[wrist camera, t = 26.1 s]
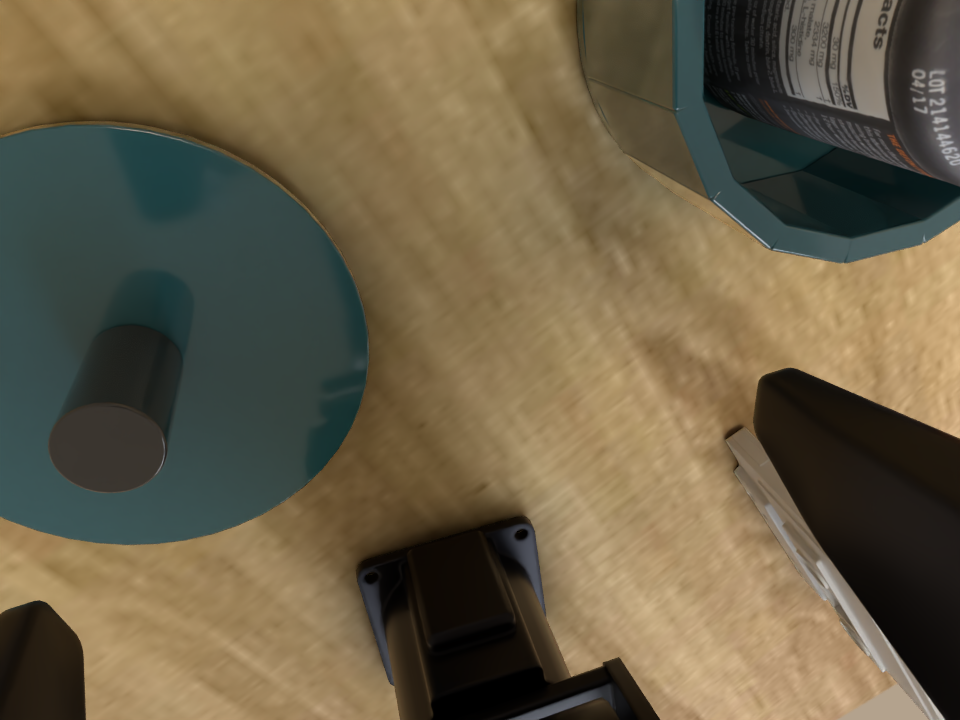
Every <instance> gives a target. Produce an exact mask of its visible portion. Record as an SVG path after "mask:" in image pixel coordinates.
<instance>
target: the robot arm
mask: <svg viewBox="0 0 960 720" xmlns="http://www.w3.org/2000/svg"><path fill="white" fill-rule="evenodd" d="M753 425H754V430H755V433H756V436H757V438H758V440H759V441H760V443H761V445H762V447H763V449H764V450H765V452H766V454H767V456H768V457H769V459H770V461H771V463H772V465H773V466H774V468H775V470H776V472H777V473H778V475H779V477H780V479H781V481H782V482H783V484H784V486H785V488H786V489H787V491H788V493H789V495H790V497H791V498H792V500H793V502H794V504H795V505H796V507H797V509H798V511H799V513H800V514H801V516H802V518H803V520H804V521H805V523H806V525H807V526H808V528H809V530H810V531H811V533H812V534H813V536H814V537H815V539H816V540H817V542H818V543H819V545H820V546H821V548H822V549H823V551H824V552H825V553H826V555H827V556H828V558H829V559H830V560H831V562H832V563H833V565H834V566H835V567H836V569H837V570H838V571H839V573H840V574H841V576H842V577H843V578H844V580H845V581H846V583H847V584H848V585H849V587H850V588H851V590H852V591H853V592H854V594H855V595H856V597H857V598H858V599H859V601H860V602H861V604H862V605H863V606H864V608H865V609H866V611H867V612H868V613H869V615H870V616H871V617H872V619H873V620H874V622H875V623H876V624H877V626H878V627H879V629H880V630H881V631H882V633H883V634H884V636H885V637H886V638H887V640H888V641H889V643H890V644H891V645H892V647H893V648H894V650H895V651H896V652H897V654H898V655H899V657H900V658H901V659H902V661H903V662H904V663H905V665H906V666H907V668H908V669H909V670H910V672H911V673H912V675H913V676H914V677H915V679H916V680H917V682H918V683H919V684H920V686H921V687H922V689H923V690H924V691H925V693H926V694H927V696H928V697H929V698H930V700H931V701H932V703H933V704H934V705H935V707H936V708H937V709H938V711H939V712H940V714H941V715H942V716H943V718H944V719H945V720H960V439H959V438H957V437H955V436H952V435H950V434H948V433H945V432H943V431H941V430H938V429H936V428H934V427H931V426H929V425H927V424H924V423H922V422H920V421H917V420H915V419H913V418H910V417H908V416H905V415H903V414H901V413H898V412H896V411H894V410H891V409H889V408H887V407H884V406H882V405H880V404H877V403H875V402H873V401H870V400H868V399H866V398H863V397H861V396H859V395H856V394H854V393H852V392H849V391H847V390H845V389H842V388H840V387H838V386H835V385H833V384H831V383H828V382H826V381H824V380H821V379H819V378H817V377H814V376H812V375H810V374H807V373H805V372H803V371H800V370H798V369H794V368H785V369H782V370H778V371H775V372H772V373H769V374H766V375H764V376H762V377H761V379H760V380H759V382H758V388H757V395H756V402H755V409H754V416H753ZM520 529H523V531H521V532H519V533H516V532H517V531H518V530H520ZM370 572H375V573H374V574H372V575H366V574H368V573H370ZM356 574H357V581H358V585H359V588H360V591H361V594H362V597H363V601H364V604H365V607H366V610H367V613H368V617H369V620H370V623H371V626H372V629H373V632H374V636H375V639H376V642H377V645H378V648H379V652H380V655H381V658H382V661H383V664H384V668H385V671H386V674H387V677H388V680H389V682H390V684H391V685H393V686H394V687H395V693H396V698H397V704H398V710H399V715H400V720H660V719H659V717H658V716H657V714H656V713H655V711H654V710H653V708H652V706H651V705H650V703H649V702H648V700H647V699H646V697H645V696H644V694H643V693H642V691H641V690H640V688H639V687H638V685H637V684H636V682H635V680H634V679H633V677H632V676H631V674H630V673H629V671H628V670H627V668H626V667H625V665H624V664H623V662H622V661H621V659H620V658H619V657H618V658H615V659H612V660H609V661H606V662H603V666H601V667H598V668H596V669H593V670H590V671H587V672H584V673H581V674H578V675H576V676H573V677H571V676H570V673H569V671H568V669H567V666H566V664H565V662H564V659H563V657H562V654H561V652H560V650H559V647H558V645H557V643H556V640H555V638H554V635H553V633H552V631H551V628H550V626H549V624H548V621H547V619H546V612H545V604H544V597H543V590H542V582H541V575H540V567H539V560H538V552H537V545H536V537H535V531H534V528H533V526H532V524H531V522H530V520H529V519H528V518H527V517H522V516H521V517H515V518H512V519H508V520H505V521H501V522H497V523H494V524H490V525H487V526H483V527H480V528H476V529H473V530H469V531H466V532H462V533H459V534H455V535H452V536H448V537H445V538H441V539H438V540H434V541H431V542H427V543H424V544H420V545H416V546H413V547H409V548H406V549H402V550H399V551H395V552H392V553H388V554H385V555H381V556H378V557H374V558H371V559H367V560H365V561H363V562H361V563H360V564H359V565H358V567H357V569H356ZM0 720H86V708H85V682H84V657H83V649H82V645H81V642H80V640H79V638H78V636H77V635H76V633H75V632H74V631H73V630H72V629H71V628H70V627H69V626H68V625H67V624H66V623H65V622H64V620H63V619H62V618H61V617H60V616H59V615H58V614H57V613H56V612H55V611H54V610H53V609H52V607H51V606H50V605H48V604H47V603H46V602H43V601H40V600H39V601H33V602H30V603H27V604H23V605H20V606H17V607H14V608H11V609H8V610H6V611H4V612H2V613H1V614H0Z"/></svg>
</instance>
